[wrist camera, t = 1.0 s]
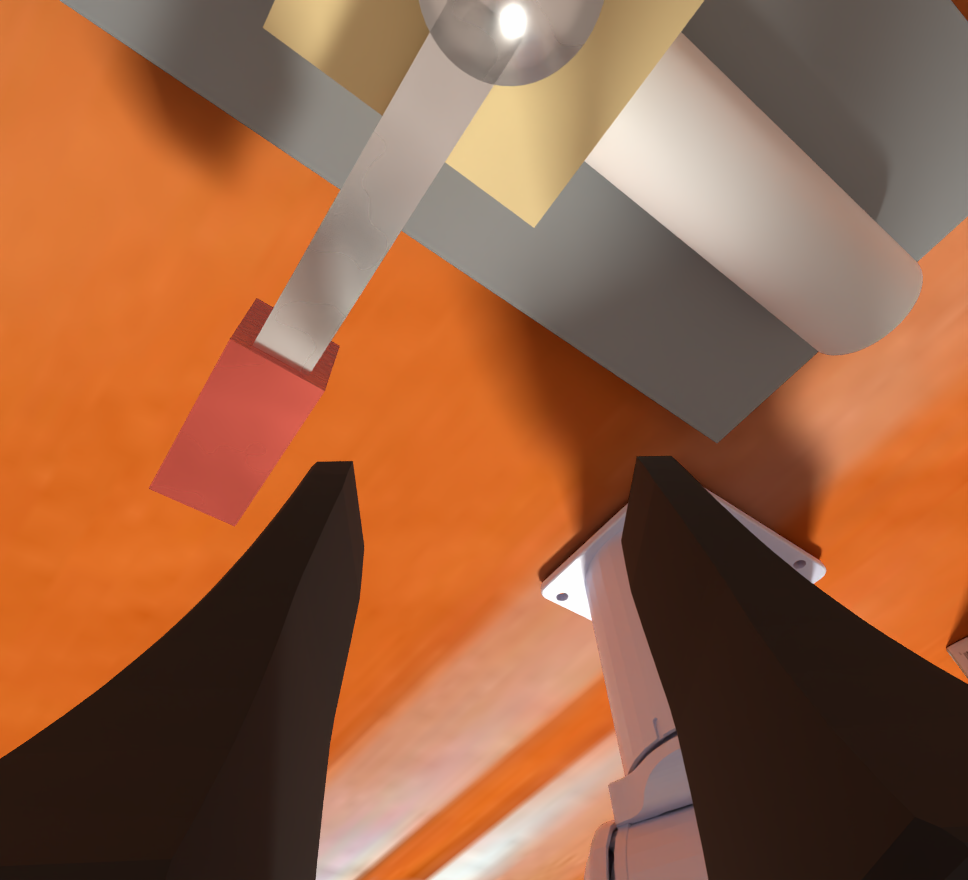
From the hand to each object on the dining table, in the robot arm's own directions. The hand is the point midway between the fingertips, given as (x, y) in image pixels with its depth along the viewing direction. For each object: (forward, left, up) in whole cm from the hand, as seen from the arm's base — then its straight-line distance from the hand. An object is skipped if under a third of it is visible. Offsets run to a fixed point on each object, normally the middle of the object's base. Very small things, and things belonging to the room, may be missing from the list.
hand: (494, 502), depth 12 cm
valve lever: (+4, -1, -5) cm, 6 cm away
